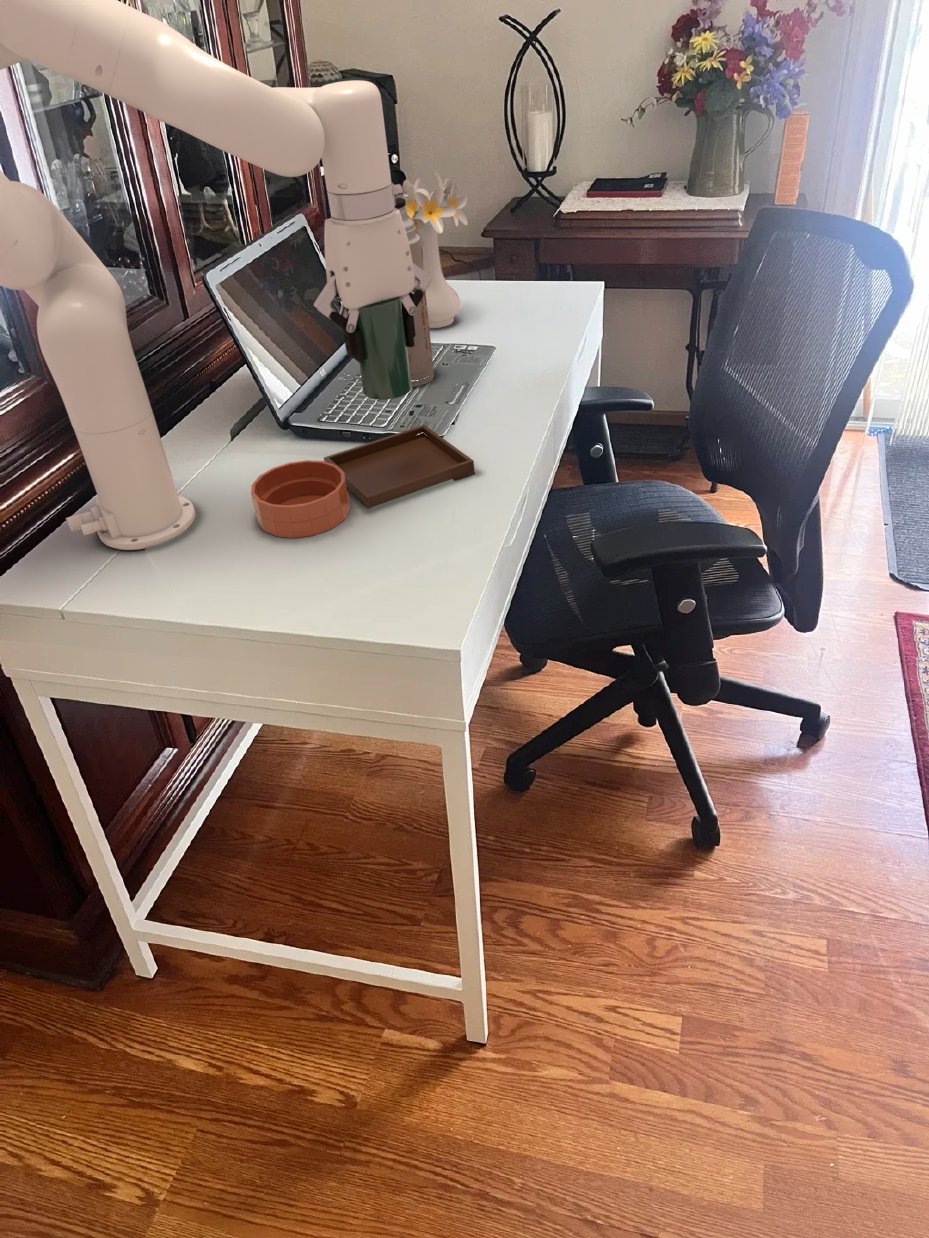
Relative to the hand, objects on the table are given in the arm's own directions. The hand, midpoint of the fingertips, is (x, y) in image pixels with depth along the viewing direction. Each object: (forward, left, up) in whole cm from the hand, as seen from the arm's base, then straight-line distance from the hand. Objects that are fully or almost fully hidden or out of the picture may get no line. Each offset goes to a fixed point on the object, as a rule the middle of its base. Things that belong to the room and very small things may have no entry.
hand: (382, 350), depth 120 cm
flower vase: (+33, +47, -18) cm, 60 cm away
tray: (0, 0, -18) cm, 18 cm away
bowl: (-15, -3, -18) cm, 24 cm away
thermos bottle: (+17, +28, -18) cm, 37 cm away
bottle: (0, 0, -5) cm, 5 cm away
